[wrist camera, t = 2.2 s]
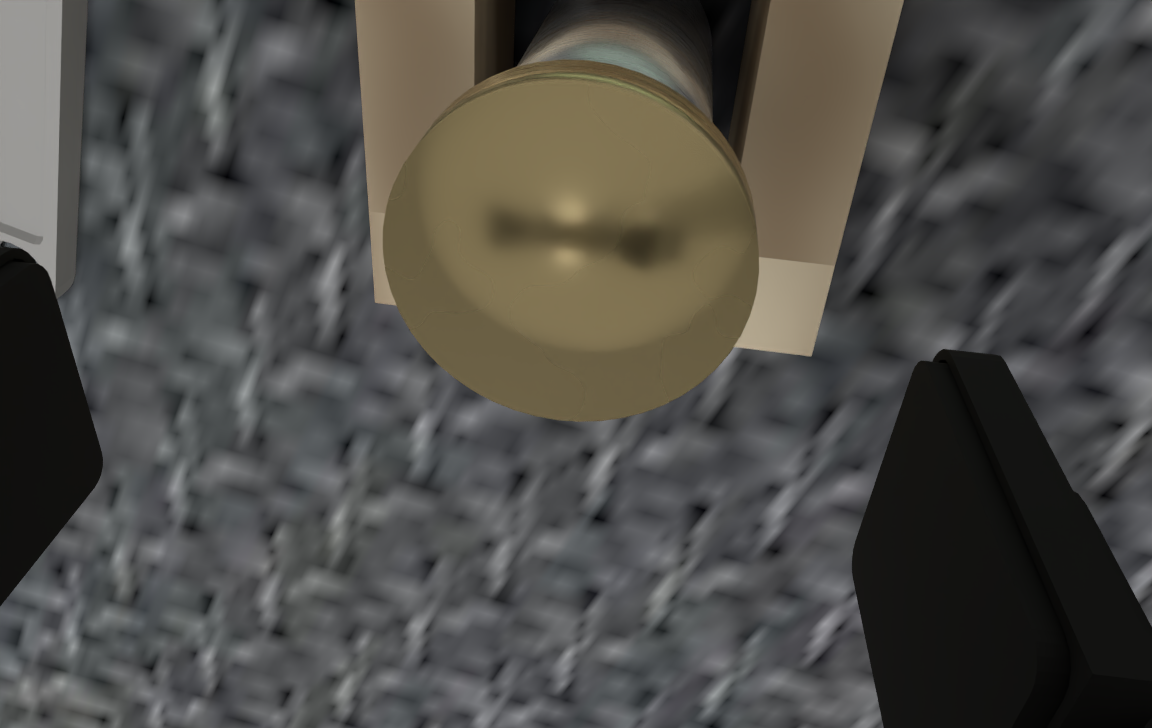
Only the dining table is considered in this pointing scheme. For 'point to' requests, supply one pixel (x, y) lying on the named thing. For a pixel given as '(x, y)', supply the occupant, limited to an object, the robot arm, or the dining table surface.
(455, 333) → the gold-capped cylinder
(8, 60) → the adjustable wrench
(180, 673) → the dining table surface
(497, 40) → the block
